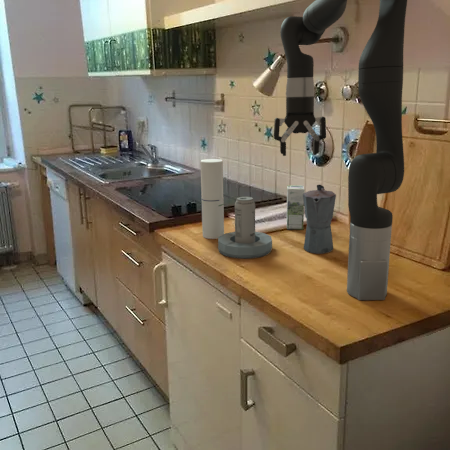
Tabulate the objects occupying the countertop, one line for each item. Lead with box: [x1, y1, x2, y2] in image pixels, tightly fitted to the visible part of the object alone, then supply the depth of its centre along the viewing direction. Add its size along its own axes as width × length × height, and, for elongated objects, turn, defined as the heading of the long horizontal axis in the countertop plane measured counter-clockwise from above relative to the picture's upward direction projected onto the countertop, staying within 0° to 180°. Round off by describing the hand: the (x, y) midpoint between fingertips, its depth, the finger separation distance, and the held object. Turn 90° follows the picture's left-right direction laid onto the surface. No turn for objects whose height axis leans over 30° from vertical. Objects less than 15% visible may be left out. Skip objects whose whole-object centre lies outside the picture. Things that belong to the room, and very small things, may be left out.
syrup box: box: [286, 185, 306, 230], centre depth 171 cm, size 6×6×14 cm
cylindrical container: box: [200, 158, 225, 240], centre depth 163 cm, size 7×7×25 cm
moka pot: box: [303, 184, 337, 255], centre depth 149 cm, size 10×15×20 cm, turn 166°
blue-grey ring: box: [217, 231, 273, 260], centre depth 151 cm, size 16×16×4 cm
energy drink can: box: [234, 196, 256, 243], centre depth 149 cm, size 6×6×15 cm
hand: (299, 155), depth 140 cm, fingers open, 8 cm apart
